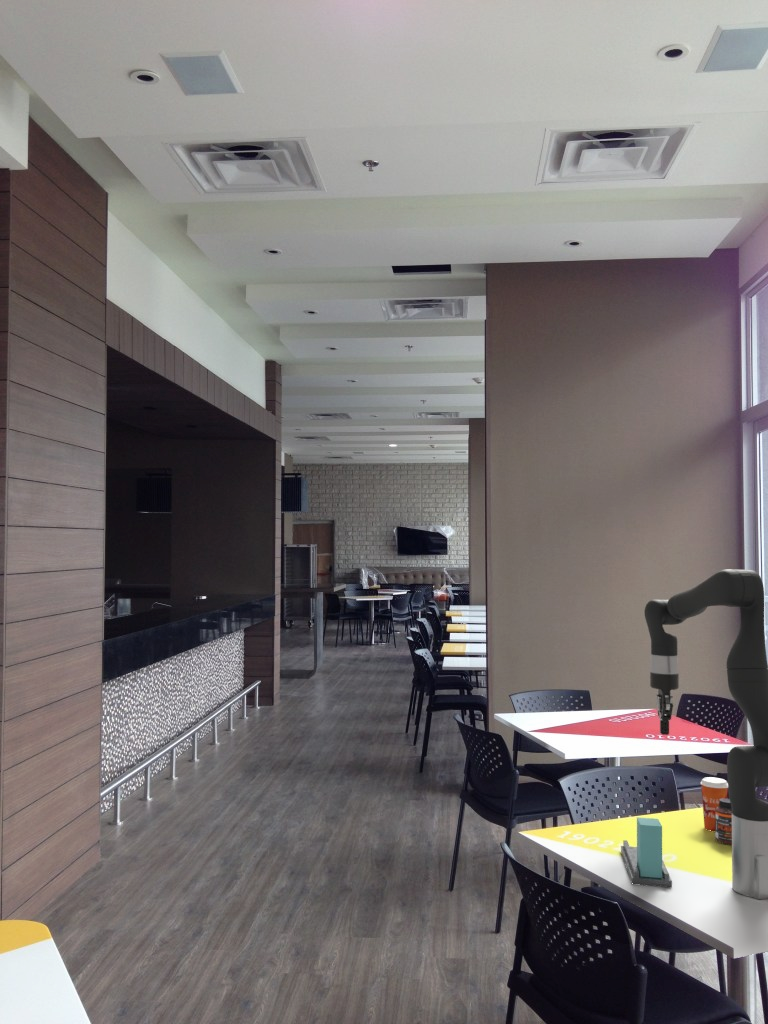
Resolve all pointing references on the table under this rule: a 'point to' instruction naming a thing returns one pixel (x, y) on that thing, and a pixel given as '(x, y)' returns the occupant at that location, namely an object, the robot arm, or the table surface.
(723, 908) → the table surface
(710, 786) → the paper cup
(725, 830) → the supplement bottle
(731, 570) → the robot arm
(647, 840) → the teal block
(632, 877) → the charcoal chute
